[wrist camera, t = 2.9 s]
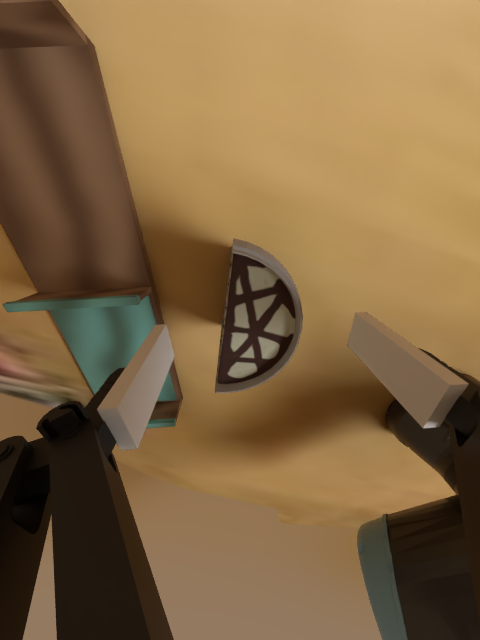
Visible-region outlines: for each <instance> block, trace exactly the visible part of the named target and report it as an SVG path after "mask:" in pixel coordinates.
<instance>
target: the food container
mask: <svg viewBox="0 0 480 640" xmlns="http://www.w3.org/2000/svg"><path fill="white" fill-rule="evenodd" d="M302 320H303V315H302V307H301V302H300V298H299V294H298V291H297V288H296V285H295V283H294V281H293V279H292V277H291V275H290V274H289V273H288V271H287V270H286V269H285V267H284V266H283V265H282V264H281V263H280V262H279V261H278V260H277V259H276V258H275V257H274V256H273V255H271V254H270V253H268V252H267V251H265V250H263V249H262V248H260V247H258V246H256V245H253V244H251V243H249V242H246V241H242V240H238V239H234V238H233V248H232V247H231V254H230V262H229V270H228V279H227V287H226V295H225V303H224V312H223V320H222V329H221V338H220V348H219V357H218V366H217V376H216V385H215V393H230V392H238V391H243V390H247V389H250V388H253V387H256V386H258V385H260V384H262V383H264V382H266V381H267V380H269V379H270V378H272V377H274V376H275V375H276V374H277V373H278V372H279V371H281V370H282V369H283V367H284V366H285V365H286V364H287V363H288V362H289V360H290V359H291V357H292V356H293V354H294V352H295V350H296V347H297V345H298V342H299V338H300V334H301V330H302Z"/></svg>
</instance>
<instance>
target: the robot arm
mask: <svg viewBox="0 0 480 640" xmlns="http://www.w3.org/2000/svg"><path fill="white" fill-rule="evenodd" d="M347 346H348V347H349V348H350V349H351V350H352V351H353V352H354V353H355V354H356V355H357V356H358V358H359V359H360V360H361V361H362V362H363V363H364V364H365V365H366V366H367V367H368V369H369V370H370V371H371V372H372V373H373V374H374V375H375V376H376V377H377V378H378V380H379V381H380V382H381V383H382V384H383V385H384V386H385V387H386V388H387V389H388V391H389V392H390V393H391V394H392V395H393V396H394V397H395V398H396V400H395V401H394V402H393V403H392V405H391V406H390V408H389V410H388V412H387V415H386V423H387V426H388V427H389V429H390V430H391V431H392V433H393V434H394V435H395V436H396V438H397V439H398V440H399V441H400V442H401V443H403V444H404V445H405V446H407V447H409V448H410V449H411V450H412V451H414V452H415V453H416V454H417V455H418V456H419V457H420V458H422V459H423V460H424V461H425V462H426V463H427V464H429V465H430V466H431V467H432V468H433V469H435V470H436V471H437V472H438V473H439V474H440V475H441V476H442V477H443V479H444V480H445V481H446V482H447V483H448V484H449V486H450V487H451V488H452V489H453V491H454V492H455V493H456V495H455V496H451V497H448V498H444V499H440V500H437V501H433V502H430V503H426V504H423V505H420V506H416V507H413V508H409V509H406V510H402V511H399V512H395V513H392V514H383V515H382V517H380V518H377V519H375V520H372V521H369V522H367V523H364V524H363V525H361V527H360V528H359V531H358V535H357V546H358V553H359V559H360V564H361V569H362V573H363V577H364V582H365V585H366V589H367V592H368V596H369V600H370V603H371V606H372V610H373V613H374V616H375V619H376V622H377V625H378V628H379V631H380V634H381V637H382V639H383V640H480V381H478V380H477V379H475V378H474V377H472V376H469V375H464V374H460V373H459V372H457V371H456V370H454V369H453V368H451V367H448V365H447V364H445V363H444V362H442V361H440V360H439V359H438V358H437V357H435V356H434V355H432V354H431V353H429V352H426V351H424V350H422V349H420V348H417V347H416V346H414V345H413V344H411V343H410V342H408V341H407V340H406V339H404V338H403V337H401V336H400V335H398V334H397V333H396V332H394V331H393V330H391V329H390V328H388V327H387V326H386V325H384V324H383V323H381V322H380V321H378V320H377V319H376V318H374V317H373V316H371V315H370V314H368V313H367V312H359V313H355V317H354V321H353V325H352V329H351V333H350V337H349V340H348V344H347ZM173 359H174V352H173V348H172V344H171V340H170V336H169V333H168V329H167V325H166V324H162V325H155V326H154V327H153V329H152V330H151V332H150V333H149V335H148V336H147V337H146V339H145V340H144V342H143V343H142V345H141V346H140V348H139V349H138V350H137V352H136V353H135V355H134V356H133V358H132V359H131V361H130V362H129V364H128V365H127V366H126V368H118V369H117V370H116V371H114V372H113V373H112V374H110V375H109V377H108V378H107V379H106V381H105V382H104V384H103V385H102V386H101V387H100V389H99V391H97V393H96V394H95V395H94V397H93V398H92V399H91V401H90V402H89V403H88V404H87V406H86V407H85V408H84V407H83V405H82V404H81V403H80V402H77V401H72V402H67V403H64V404H61V405H59V406H57V407H55V408H54V409H52V410H50V411H49V412H48V413H47V414H46V415H44V416H43V417H42V419H41V420H40V421H39V422H38V425H37V430H38V431H39V432H40V433H41V434H42V435H43V438H40V439H37V440H34V441H31V442H27V441H26V439H24V437H23V436H13V437H10V438H7V439H5V440H2V441H0V640H22V639H23V634H24V630H25V626H26V622H27V617H28V613H29V608H30V604H31V600H32V596H33V591H34V587H35V583H36V578H37V574H38V569H39V565H40V561H41V557H42V552H43V548H44V543H45V539H46V535H47V530H48V526H49V521H50V517H51V513H52V535H53V559H54V582H55V604H56V626H57V627H56V628H57V640H174V639H173V636H172V633H171V630H170V627H169V624H168V621H167V618H166V615H165V612H164V608H163V605H162V602H161V599H160V596H159V593H158V590H157V587H156V584H155V581H154V578H153V575H152V572H151V568H150V565H149V562H148V559H147V556H146V553H145V550H144V547H143V544H142V541H141V538H140V535H139V532H138V529H137V525H136V522H135V519H134V516H133V513H132V510H131V507H130V504H129V501H128V498H127V495H126V492H125V489H124V486H123V482H122V480H121V477H120V473H119V471H118V467H117V464H116V461H115V458H114V455H113V454H112V450H113V448H114V446H115V444H116V443H117V445H118V447H119V448H120V450H131V449H138V447H139V444H140V442H141V439H142V437H143V434H144V432H145V429H146V427H147V424H148V422H149V419H150V417H151V414H152V412H153V409H154V407H155V404H156V402H157V399H158V397H159V394H160V392H161V389H162V387H163V384H164V382H165V379H166V376H167V374H168V371H169V369H170V366H171V364H172V361H173Z"/></svg>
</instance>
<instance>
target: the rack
mask: <svg viewBox="0 0 480 640" xmlns="http://www.w3.org/2000/svg"><path fill="white" fill-rule="evenodd" d="M0 223H1V225H2V226H3V228H4V230H5V232H6V234H7V236H8V238H9V239H10V241H11V243H12V245H13V247H14V249H15V250H16V252H17V254H18V256H19V258H20V260H21V262H22V263H23V265H24V267H25V269H26V271H27V273H28V275H29V276H30V278H31V280H32V282H33V284H34V286H35V288H36V289H37V291H38V293H36V294H33V295H31V296H28V297H25V298H23V299H20V300H17V301H14V302H7V303H4V304H2V305H3V306H4V308H5V309H6V311H7V312H22V311H40V310H48V312H49V314H50V315H51V317H52V319H53V321H54V323H55V325H56V326H57V328H58V330H59V332H60V334H61V336H62V338H63V339H64V341H65V343H66V345H67V347H68V349H69V351H70V352H71V354H72V356H73V358H74V360H75V362H76V364H77V365H78V367H79V369H80V371H81V373H82V375H83V377H84V378H85V380H86V382H87V384H88V386H89V388H90V389H91V391H92V393H93V395H95V394H96V393H97V391H99V389H100V387H101V386H102V385H103V384H104V382H105V381H106V379H107V378H108V377H109V375H110V374H112V373H113V372H114V371H116V370H117V369H118V368H126V366H127V365H128V364H129V362H130V361H131V359H132V358H133V356H134V355H135V353H136V352H137V350H138V349H139V348H140V346H141V345H142V343H143V342H144V340H145V339H146V337H147V336H148V335H149V333H150V332H151V330H152V329H153V327H154V326H155V325H162V324H164V321H163V317H162V313H161V309H160V305H159V301H158V297H157V293H156V289H155V285H154V281H153V277H152V273H151V269H150V265H149V262H148V258H147V254H146V250H145V246H144V242H143V238H142V234H141V230H140V226H139V222H138V218H137V214H136V210H135V206H134V202H133V198H132V194H131V190H130V186H129V182H128V178H127V174H126V170H125V166H124V162H123V158H122V154H121V150H120V146H119V142H118V138H117V134H116V130H115V126H114V123H113V119H112V115H111V111H110V107H109V103H108V99H107V95H106V91H105V87H104V83H103V79H102V75H101V71H100V67H99V63H98V59H97V55H96V51H95V47H94V45H93V43H92V42H91V41H90V40H89V38H88V37H87V36H86V35H85V33H84V32H83V31H82V30H81V28H80V27H79V26H78V24H77V23H76V22H75V21H74V19H73V18H72V17H71V16H70V14H69V13H68V12H67V11H66V9H65V8H64V7H63V6H62V4H61V3H60V2H59V0H0ZM182 399H183V397H182V393H181V389H180V385H179V381H178V377H177V373H176V369H175V365H174V361H172V364H171V366H170V369H169V371H168V374H167V376H166V379H165V382H164V384H163V387H162V389H161V392H160V394H159V397H158V399H157V402H156V404H155V407H154V409H153V412H152V414H151V417H150V419H149V422H148V424H147V427H146V428H157V427H173V426H175V425H176V420H177V417H178V413H179V409H180V406H181V402H182Z"/></svg>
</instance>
